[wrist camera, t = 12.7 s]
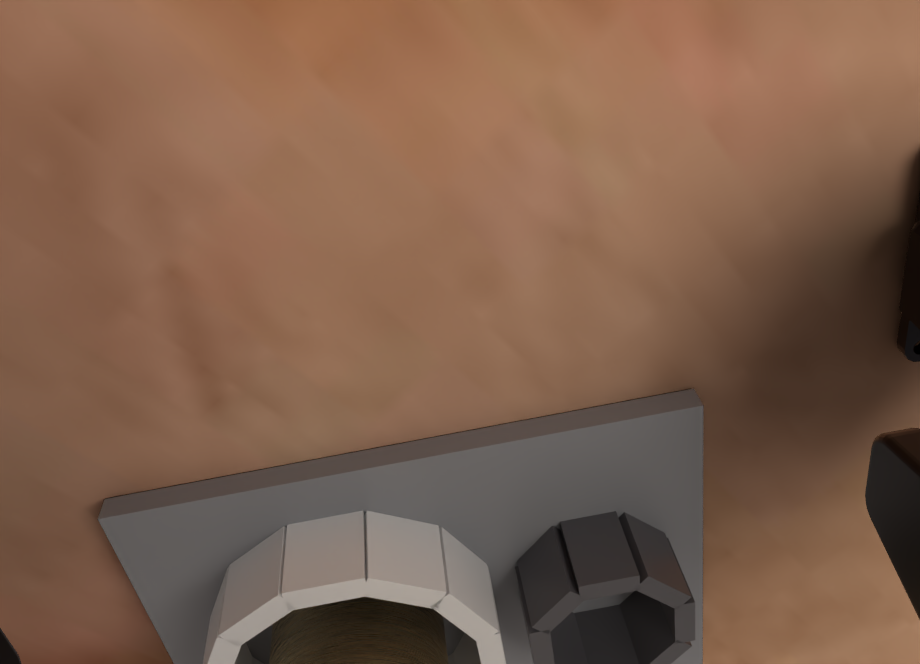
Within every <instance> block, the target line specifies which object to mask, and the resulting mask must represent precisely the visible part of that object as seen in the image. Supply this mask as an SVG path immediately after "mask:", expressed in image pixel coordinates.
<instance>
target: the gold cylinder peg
mask: <svg viewBox="0 0 920 664" xmlns="http://www.w3.org/2000/svg"><path fill="white" fill-rule="evenodd" d="M269 664H449V663H448V655H447V646H446V637H445V629H444V620H443V616H442V615H441V614H439V613H438V612H437V611H435V610H434V609H432V608H426V607H421V606H415V605H409V604H404V603H398V602H393V601H387V600H381V599H376V598H370V597H360V598H355V599H349V600H344V601H339V602H334V603H328V604H323V605H318V606H313V607H307V608H302V609H297V610H293V611H291V612H290V613H288V614H287V615H285V616H284V617H282V618H281V619H279V620H278V621H276V622H275V623H273V627H272V637H271V648H270V659H269Z"/></svg>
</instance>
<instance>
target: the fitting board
mask: <svg viewBox="0 0 920 664" xmlns="http://www.w3.org/2000/svg"><path fill="white" fill-rule="evenodd" d="M703 408H704V405H703V404H702V402H701V400H700V398H699V397H698V395H697V393H696V391H695V390H694V389H689V390H683V391H678V392H673V393H667V394H662V395H657V396H651V397H646V398H641V399H635V400H630V401H625V402H620V403H614V404H609V405H604V406H598V407H593V408H588V409H582V410H577V411H572V412H566V413H561V414H556V415H550V416H545V417H540V418H534V419H529V420H524V421H518V422H513V423H508V424H502V425H497V426H492V427H486V428H481V429H476V430H470V431H465V432H460V433H454V434H449V435H444V436H438V437H433V438H428V439H422V440H417V441H412V442H406V443H401V444H396V445H390V446H385V447H380V448H374V449H369V450H364V451H358V452H353V453H348V454H342V455H337V456H332V457H326V458H321V459H316V460H310V461H305V462H300V463H294V464H289V465H284V466H278V467H273V468H268V469H262V470H257V471H252V472H246V473H241V474H236V475H230V476H225V477H220V478H214V479H209V480H204V481H198V482H193V483H188V484H182V485H177V486H172V487H167V488H161V489H156V490H151V491H145V492H140V493H135V494H129V495H124V496H119V497H113V498H108V499H105V500H104V502H103V505H102V508H101V511H100V514H99V517H98V521H99V523H100V524H101V526H102V528H103V530H104V532H105V534H106V536H107V538H108V540H109V542H110V543H111V545H112V547H113V549H114V551H115V553H116V555H117V557H118V559H119V561H120V562H121V564H122V566H123V568H124V570H125V572H126V574H127V576H128V578H129V579H130V581H131V583H132V585H133V587H134V589H135V591H136V593H137V595H138V597H139V598H140V600H141V602H142V604H143V606H144V608H145V610H146V612H147V614H148V616H149V617H150V619H151V621H152V623H153V625H154V627H155V629H156V631H157V633H158V634H159V636H160V638H161V640H162V642H163V644H164V646H165V648H166V650H167V652H168V653H169V655H170V657H171V659H172V661H173V663H174V664H269V659H270V648H271V637H272V627H273V623H275V622H276V621H278V620H279V619H281V618H282V617H284V616H285V615H287V614H288V613H290V612H291V611H293V610H297V609H302V608H307V607H313V606H318V605H323V604H328V603H334V602H339V601H344V600H349V599H355V598H360V597H370V598H376V599H381V600H387V601H393V602H398V603H404V604H409V605H415V606H421V607H426V608H432V609H434V610H435V611H437V612H438V613H439V614H441V615H442V616H443V620H444V629H445V637H446V646H447V655H448V663H449V664H703Z"/></svg>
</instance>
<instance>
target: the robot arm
mask: <svg viewBox="0 0 920 664" xmlns="http://www.w3.org/2000/svg"><path fill="white" fill-rule="evenodd" d="M899 309H900V311H901V312H902V313H901V319H900V326H899V333H898V339H897V347H898V349H899V350H900V352H901V353H902V354H903V355H904V356H905V357H906V358H907V359H908V360H911V361H913V362H917V361H920V343H919V344H918V345H916V346H915V344H916V343H917V342H918V341H920V193H919V200H918V206H917V213H916V220H915V225H914V226H913V228H912V230H911V232H910V238H909V245H908V252H907V258H906V265H905V272H904V279H903V285H902V292H901V299H900V306H899ZM865 497H866V505H867V509H868V512H869V515H870V518H871V520H872V522H873V524H874V526H875V528H876V530H877V532H878V534H879V537H880V539H881V541H882V543H883V545H884V547H885V549H886V551H887V553H888V555H889V557H890V559H891V561H892V563H893V566H894V568H895V570H896V572H897V574H898V576H899V578H900V580H901V582H902V584H903V586H904V588H905V590H906V592H907V594H908V597H909V599H910V601H911V603H912V605H913V607H914V609H915V611H916V613H917V615H918V617H919V619H920V429H919V428H909V429H904V430H898V431H893V432H888V433H883V434H880V435H879V436H877V437H876V438H875V440H874V442H873V445H872V449H871V456H870V464H869V471H868V478H867V485H866V494H865ZM0 664H21V661H20V658H19V656H18V654H17V652H16V650H15V649H14V648H13V646H12V645H11V643H10V642H9V640H8V639H7V637H6V636H5V634H4V633H3V631H2V630H1V628H0Z"/></svg>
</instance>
